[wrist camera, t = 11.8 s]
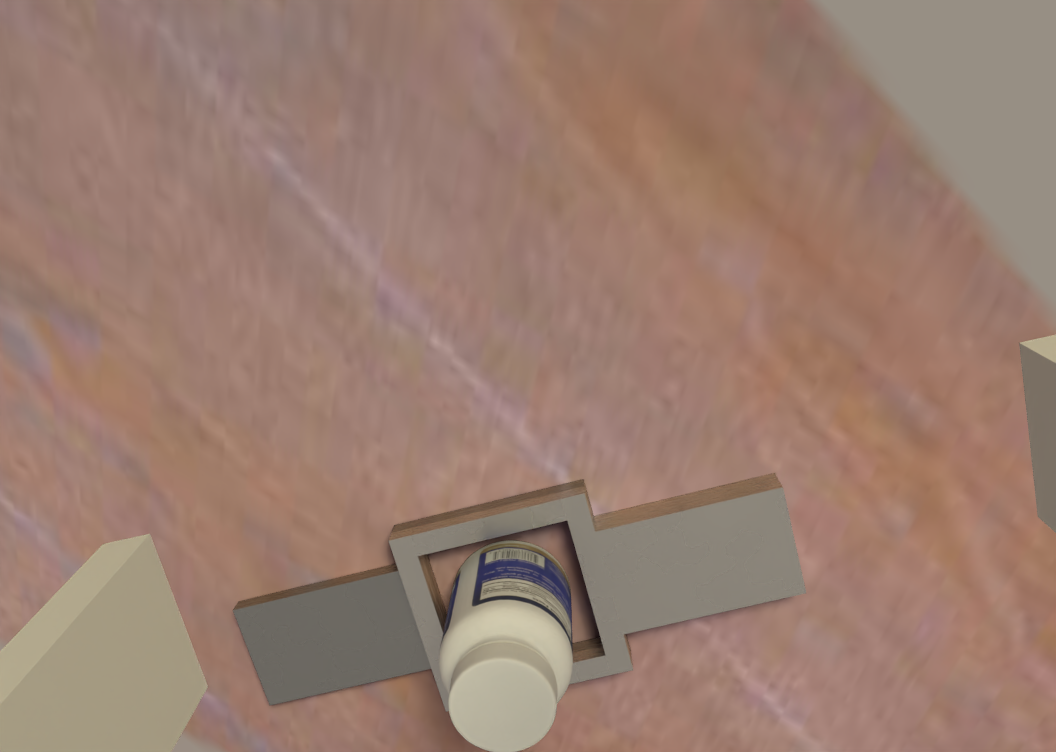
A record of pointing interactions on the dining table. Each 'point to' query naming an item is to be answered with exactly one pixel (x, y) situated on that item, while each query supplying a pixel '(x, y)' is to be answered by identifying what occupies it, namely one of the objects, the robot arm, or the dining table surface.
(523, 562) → the pill bottle
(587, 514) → the square frame bracket
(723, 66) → the dining table surface
